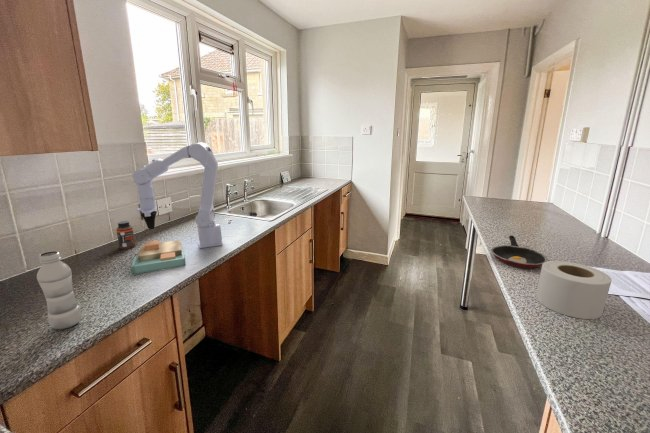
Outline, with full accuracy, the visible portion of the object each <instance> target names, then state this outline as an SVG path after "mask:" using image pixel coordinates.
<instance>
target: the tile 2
mask: <svg viewBox="0 0 650 433" xmlns="http://www.w3.org/2000/svg"><path fill="white" fill-rule="evenodd" d="M173 259H176V255H175V252H171V253H165V254H161V257H160V260H161V261H167V260H173Z"/></svg>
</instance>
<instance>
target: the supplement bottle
mask: <svg viewBox="0 0 650 433" xmlns="http://www.w3.org/2000/svg"><path fill="white" fill-rule="evenodd" d="M116 236H117V242H118V245H119V248H120V249H121V250H124V249H125V250H127V249H131V248H135V246H136V240H135V233H134V228H133V226H132V225H130V222H129V220H122V221H118V222H117V227H116Z"/></svg>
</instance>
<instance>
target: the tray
mask: <svg viewBox="0 0 650 433" xmlns="http://www.w3.org/2000/svg"><path fill="white" fill-rule="evenodd" d="M181 250H182V255H179V256H176V259H173V260H167V261H161V260H160V259H153V260H147V261H141V262H139V259H138V255H135V256H134V257H133V260H132V264H131V273H132V275H140V274H145V273H151V272H157V271H163V270H169V269H174V268H175V269H176V268H182V267H186V256H185V248H181Z"/></svg>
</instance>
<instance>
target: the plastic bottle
mask: <svg viewBox="0 0 650 433" xmlns="http://www.w3.org/2000/svg"><path fill="white" fill-rule="evenodd" d="M38 258H39V263H40V264H41V266H40V267H39V269H38V271H37V273H36V280H37V282H38V285H39V286H40V288H41V290H42V292H43V295H44V299H45V300H46V308H47V322H48V324H49V326H50V327H51V328H52V329H55V330H64V329H68V328H71V327H73V326H75V325H78V323H79V322H80V321H81V319H82V310H81V307H80V305H79V304H78V301H77V299H76V297H75V294H74V293H75V292H74V288H73V274H72V268H70V266H69V265H68V264H67V263H65V262H64V261H62V257H61V254H60V252H59V251H58V250H51V251H45V252H42V253H40V254H39V255H38Z"/></svg>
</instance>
